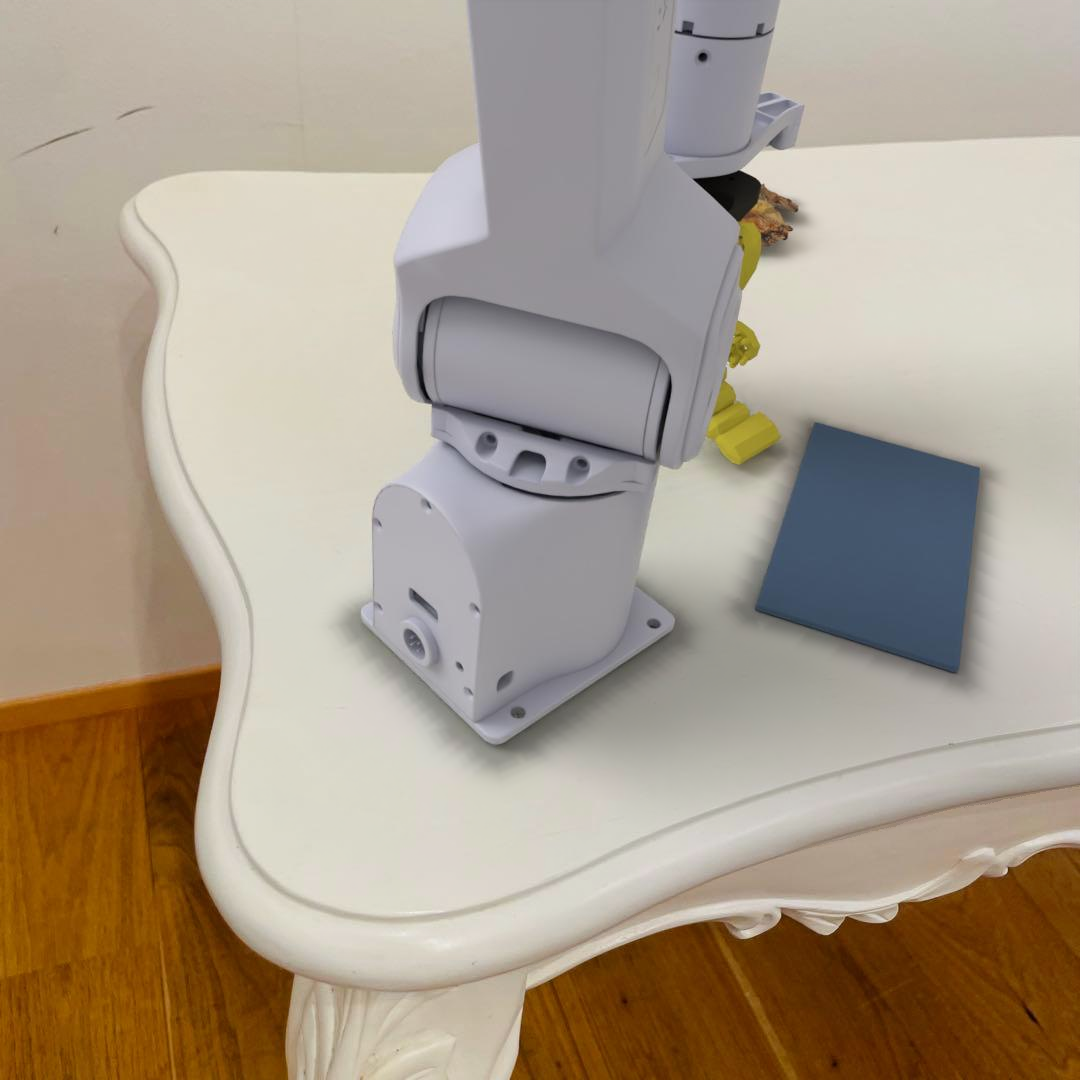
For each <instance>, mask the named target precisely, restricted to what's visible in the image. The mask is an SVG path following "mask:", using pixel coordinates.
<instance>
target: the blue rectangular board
mask: <svg viewBox="0 0 1080 1080" xmlns="http://www.w3.org/2000/svg"><path fill="white" fill-rule="evenodd" d="M980 473H981V467H979V466H976V465H972V464H969V463H966V462H961V461H957V460H954V459H950V458H947V457H943V456H939V455H935V454H933V453H928V452H925V451H921V450H918V449H914V448H910V447H907V446H904V445H901V444H900V445H899V444H896V443H892V442H889V441H886V440H882V439H878V438H874V437H872V436H867V435H864V434H860V433H857V432H853V431H849V430H846V429H842V428H838V427H835V426H831V425H827V424H825V423H820V422H817V421H815V422H814V423H813V427H812V429H811V434H810V436H809V439H808V441H807V445H806V449H805V452H804V455H803V458H802V461H801V464H800V467H799V470H798V473H797V477H796V480H795V483H794V486H793V489H792V493H791V496H790V499H789V502H788V505H787V507H786V511H785V514H784V517H783V521H782V523H781V526H780V530H779V533H778V535H777V538H776V542H775V546H774V548H773V552H772V554H771V558H770V561H769V564H768V568H767V570H766V573H765V574H766V575H765V576H764V580H763V583H762V586H761V589H760V592H759V595H758V599H757V602H756V605H755V608H754V609H755V611H758V612H762V613H765V614H767V615H771V616H775V617H778V618H781V619H784V620H787V621H790V622H793V623H796V624H799V625H803V626H806V627H808V628H812V629H815V630H818V631H822V632H825V633H828V634H831V635H834V636H837V637H841V638H843V639H847V640H851V641H854V642H857V643H860V644H863V645H866V646H869V647H872V648H876V649H878V650H881V651H885V652H888V653H891V654H895V655H897V656H900V657H903V658H906V659H911V660H913V661H916V662H919V663H923V664H926V665H929V666H932V667H937V668H939V669H941V670H945V671H948V672H950V673H955V674H957V673H958V671H959V669H960V662H961V653H962V643H963V635H964V625H965V617H966V607H967V599H968V597H967V596H968V588H969V587H968V586H969V577H970V569H971V568H970V567H971V558H972V550H973V540H974V539H973V538H974V530H975V520H976V511H977V502H978V493H979V482H980Z"/></svg>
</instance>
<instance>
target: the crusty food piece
mask: <svg viewBox="0 0 1080 1080" xmlns="http://www.w3.org/2000/svg"><path fill="white" fill-rule="evenodd" d="M775 208H777V209H782V210H785V211H788V212H791V213H793V214H794V213H798V212H799V204H796V203H794V202H793V200H791V199H790V198H787V197H784V196H781V195H779V194H778V193H776V192H775V191H771V190H770V189H768V188H767V187H766V186H765V183H761V190H760V194H759V199H758V203H757V204H756V205H755V206H754V207H753V208H752V209H751V210H750V211H749V212H748V213H747V214H746V215H745V217H744V218H743V219H742V220H741V221H740V222H751V223H754V224H755V226H756V228H757V229H758V231H759V232H760V234H761V247H770V246H771V245H772V244H775V243H776V242H779V240H781V241H782V240H783V241H786V240H788V238H789V232H793V230H794V228H793V227H792V226H791V225H790V224H789V223H787V222H785V221H784V218H783V216H782V213H781V212H780V211H779V210H776V209H775ZM742 238H743V237H742V236H739V238H738V243H739V242H741V239H742ZM744 249H745V247H744Z"/></svg>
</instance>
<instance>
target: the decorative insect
mask: <svg viewBox="0 0 1080 1080" xmlns="http://www.w3.org/2000/svg"><path fill="white" fill-rule="evenodd" d="M737 223H738V224H739V226H740V233H739V236H742V237H743V238H742V239H741V242H739V243H737V244H738V245H740V246H741V248H742V250H743V252H744V255H743V261H742V267H741V273H740V280H739V287H740V289H741V291H742V292H743V291H744V289H745V288H746V287H747V285H748V284H749V281H750V280H751V278H752V277H753V275H754V274H755V272H756V270H757V267H758V265H759V261H760V258H761V254H762V246H761V234H760V232H759V231H758V229H757V228H756V226H755V224H754V223H751V222H737ZM744 247H745V248H744ZM760 348H761V344H760V342H759V340H758V337H757V335H756V333H755V331H754V330H753V329H752V328H750V327H749V326H748V325H746V324H745V323H744V322H743V321H740V320H737V324H736V329H735V333H734V337H733V341H732V345H731V349H730V353H729V357H728V361H727V363H729V364H728V367H729V368H730V369H735V368H736V367H738V365H740V366H742V367H744V366H745V365H746V364H747V363H748V362H749V361H752V360H753V359H755V358H757V356H758V355H759V351H760ZM728 367H727V366H726V369H725V373H724V376H723V380H722V384H721V387H720V391H719V394H718V398H717V401H716V405H715V408H714V411H713V415H712V418H711V421H710V425H709V428H708V431H707V434H706V437H707V438H708V439H710V440H712V441H714V442H715V444H716V446H717V447H718V449H719V451H720V453H722V455H723V457H724V458H726V459H727V460H729V462H731V463H732V464H736V465H741V464H743V463H744V462H746V461H748V460H749V459H751V458H753V457H755V456H756V455H758V454H760V453H761V452H763V451H765V450H766V449H768V448H769V447H771V446H773V445H774V444H776V443H778V442H780V439H781V437H782V436H781V434H780V432H779V431H780V430H778V427H777V425H776V423H775V422H773V421H772V420H771V419H770V418H769V417H767V416H766V415H764V414H763V413H762V412H761V411H758V412H756V413H754V414H752V415H750V414H751V413H750V409H749V407H748V406H747V404H744V403H742V402H740V401H736V400H737V395H736V393H735V389H734V387H733V386H732V385H731V384H730V383H729V382H727V381H726V379H727V378H728Z"/></svg>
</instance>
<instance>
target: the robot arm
mask: <svg viewBox="0 0 1080 1080" xmlns="http://www.w3.org/2000/svg"><path fill="white" fill-rule="evenodd" d="M464 2H465V9H466V20H467V30H468V31H467V32H468V44H469V53H470V63H471V74H472V86H473V95H474V107H475V118H476V129H477V140H478V142H476V143H473V144H471V145H469V146H467V147H465V148H463V149H461V150H459V151H457V152H455V153H454V154H452V155H450V156H449V157H448V158H446V160H444V161H443V162H442V163H441V164H440V165H439V166H438V168H436V169H435V171H434V172H433V174H432V175H431V176H430V177H429V179H428V180H427V182H426V184H425V186H424V187H423V189H422V191H421V192H420V194H419V196H418V198H417V199H416V202H415V203H414V205H413V207H412V209H411V211H410V213H409V215H408V217H407V219H406V221H405V223H404V226H403V229H402V231H401V233H400V236H399V238H398V241H397V244H396V248H395V251H394V253H393V268H394V277H395V278H394V279H395V297H396V298H395V299H396V300H395V301H396V302H395V306H394V312H393V321H392V338H391V339H392V340H391V342H392V357H393V362H394V366H395V369H396V372H397V374H398V377H399V378H400V380H401V384H402V386H403V388H404V392H405V393H406V395H407V396H408V397H409V398H410V399H411V400H412V401H414V402H416V403H420V404H426V405H431V411H430V412H431V413H430V420H431V421H430V436H431V437H432V438H434V439H436V440H435V442H434V443H433V444H432V446H431V447H430V448H429V449H428V451H426V453H425V454H424V455H422V456H421V457H420V459H418V460H417V461H416V462H415V463H414V464H413V465H411V466H410V467H408V468H407V469H406V470H405V471H404V472H402V473H401V474H399V475H398V476H396V477H394V478H393V479H392V480H390V481H389V482H387V483H385V485H383V486H382V487H381V488H380V490H379V491H378V492H377V494H376V496H375V498H374V500H373V505H372V510H371V552H372V553H371V554H372V559H371V560H372V561H371V563H372V564H371V565H372V601H369V602H367V603H366V604H365V605H364V606H362V607H361V609H360V620H361V622H362V623H363V624H364V625H365V626H366V627H367V628H368V629H369V630H370V631H371V632H372V633H373V634H374V635H375V636H376V637H377V638H378V639H379V640H380V641H381V642H382V643H383V644H385V646H386V647H387V648H389V650H390V651H392V652H393V653H394V654H395V655H396V656H397V658H399V660H401V661H402V662H403V663H404V664H405V665H406V666H407V667H408V668H409V670H411V671H412V672H413V673H414V674H416V676H417V677H419V678H420V679H421V680H422V681H423V682H424V683H425V684H426V685H427V686H428V687H429V688H430V689H431V690H432V691H433V693H435V694H436V695H437V696H438V697H439V698H440V699H441V700H442V701H443V702H444V703H445V704H446V705H447V706H448V707H449V708H450V709H452V711H453V712H455V713H456V714H457V716H459V717H460V718H461V719H462V720H463V721H464V722H465V723H466V724H467V725H468V726H469V727H470V728H471V729H472V730H473V731H474V732H475V733H476V734H477V735H478V736H479V737H480V738H481V739H482V740H483V741H485V742H486V743H488V744H490V745H502V744H504V743H506V742H508V741H509V740H510V739H512V738H514V737H515V736H517V735H518V734H519V733H521V732H522V731H524V730H526V729H527V728H528V727H531V725H533V724H535V723H536V722H537V721H539V720H541V719H542V718H544V717H545V716H547V715H548V714H550V713H551V712H552V711H554V710H556V709H557V708H558V707H560V706H562V705H563V704H564V703H566V702H567V701H569V700H571V699H572V698H573V697H575V696H577V695H578V694H579V693H581V692H582V691H584V690H585V689H587V688H588V687H589V686H591V685H593V684H594V683H596V682H597V681H599V680H601V679H602V678H603V677H605V676H607V675H608V674H610V673H611V672H612V671H614V670H615V669H617V668H619V666H621V665H623V664H624V663H626V662H628V661H629V660H631V659H632V658H633V657H635V656H637V654H639V653H641V652H643V651H644V650H645V649H647V648H648V647H650V646H651V645H653V644H654V643H656V642H657V641H659V640H660V639H662V638H663V637H665V636H666V635H668V634H669V633H671V632H672V631H673V630H674V627H675V622H676V617H675V616H674V615H673V614H672V612H671V611H669V610H668V609H666V607H664V606H663V605H661V604H660V603H659V602H657V601H656V600H655V599H654V598H652V597H651V596H650V595H648V594H647V593H646V592H644V591H643V590H642V589H641V588H640V587H639V586H637V585H636V582H637V577H638V573H639V570H640V569H639V568H640V564H641V559H642V554H643V549H644V544H645V539H646V534H647V530H648V524H649V520H650V515H651V511H652V506H653V500H654V496H655V492H656V485H657V481H658V476H659V471H660V467H661V466H662V467H665V468H668V469H670V470H676V471H677V470H679V469H681V468H682V466H683V465H684V463H687V462H689V461H691V460H693V459H695V458H697V457H698V456H699V454H700V452H701V450H702V449H703V446H704V442H705V440H706V437H707V436H706V434H707V431H708V428H709V425H710V421H711V418H712V415H713V411H714V408H715V405H716V401H717V398H718V394H719V391H720V387H721V384H722V380H723V376H724V373H725V369H726V367H727V364H728V357H729V353H730V349H731V345H732V341H733V337H735V336H734V333H735V329H736V324H737V320H738V319H739V314H740V311H741V305H742V297H743V290H742V291H741V289H740V287H739V280H740V273H741V267H742V261H743V255H744V249H743V250H742V248H741V246H740V245H738V244H737V243H738V238H739V233H740V226H739V224H738V223H737V222H740V221H741V220H742V219H743V218H744V217H745V215H746V214H747V213H748V212H749V211H750V210H751V209H752V208H753V207H754V206H755V205H756V204H757V203H758V199H759V194H760V190H761V184H762V183H761V181H760V180H759V179H757V178H756V177H755V176H753V175H751V174H749V173H747V172H744V171H742V169H743V168H745V167H746V166H748V164H749V163H750V162H751V161H752V160H753V159H754V158H755V157H756V156H757V155H759V153H761V152H762V151H763V149H764V148H767V147H771V148H773V149H775V150H778V151H784V150H787V149H791V148H794V147H795V146H796V142H797V138H798V134H799V130H800V127H801V123H802V118H803V115H804V110H805V104H804V103H802V102H799V101H797V100H795V99H792V98H790V97H788V96H785V95H783V94H780V93H778V92H776V91H773V90H767V91H764V92H761V91H762V86H763V82H764V77H765V73H766V67H767V63H768V59H769V55H770V51H771V45H772V43H773V37H774V32H775V27H776V22H777V17H778V13H779V10H780V9H779V8H780V4H781V0H465V1H464ZM738 321H739V320H738ZM653 627H654V628H653ZM513 715H520V716H521V717H520V718H519V717H515V716H513Z"/></svg>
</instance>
